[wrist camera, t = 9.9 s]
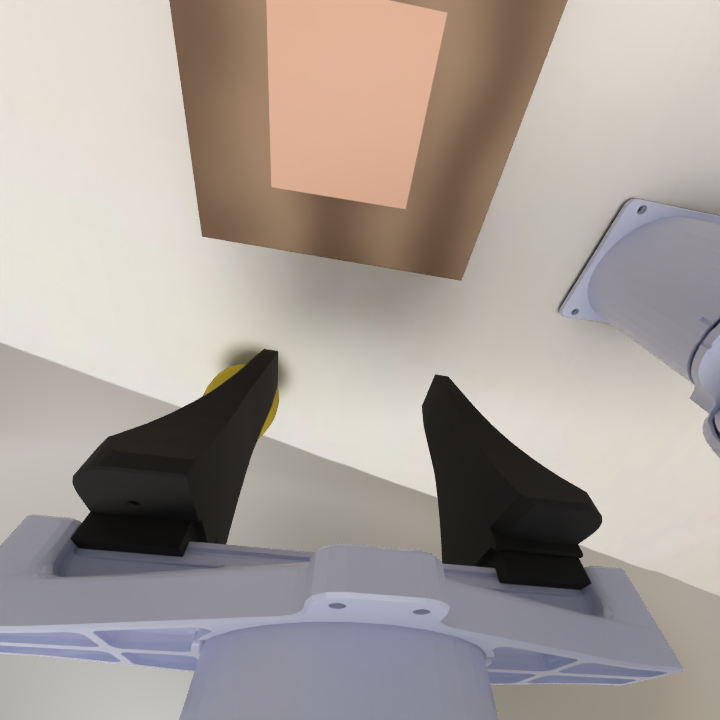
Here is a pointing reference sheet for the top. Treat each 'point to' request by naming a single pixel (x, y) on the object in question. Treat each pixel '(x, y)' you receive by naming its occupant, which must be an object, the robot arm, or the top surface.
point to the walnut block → (435, 154)
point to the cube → (349, 95)
